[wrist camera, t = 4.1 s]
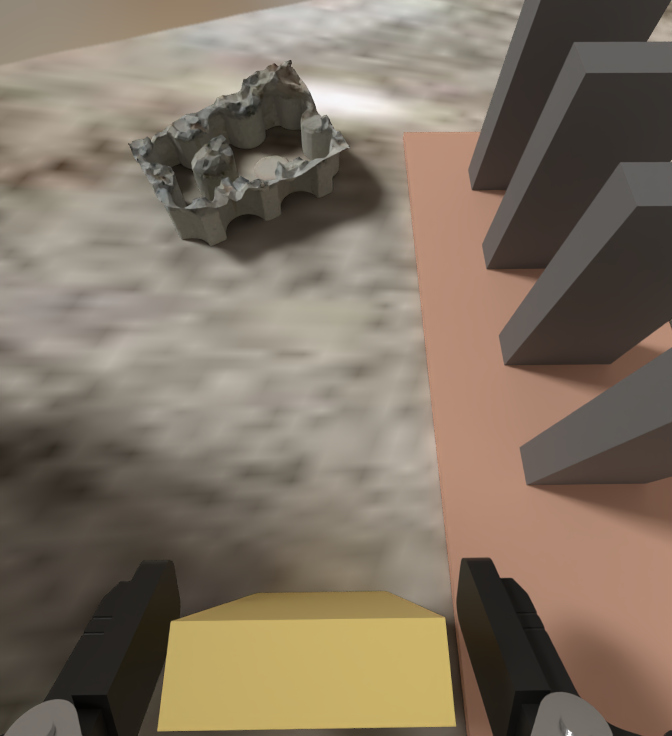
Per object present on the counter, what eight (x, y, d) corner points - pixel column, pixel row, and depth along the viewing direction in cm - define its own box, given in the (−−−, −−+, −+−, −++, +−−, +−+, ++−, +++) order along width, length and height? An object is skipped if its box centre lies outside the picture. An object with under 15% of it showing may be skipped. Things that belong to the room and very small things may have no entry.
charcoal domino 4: (645, 483, 19) (946, 401, 9) (526, 484, 18) (712, 403, 9) (634, 446, 19) (905, 335, 10) (519, 447, 19) (687, 337, 10)
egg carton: (301, 119, 29) (296, 52, 25) (357, 195, 26) (361, 133, 22) (141, 173, 27) (110, 109, 23) (184, 263, 24) (157, 206, 20)
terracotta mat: (814, 740, 15) (825, 745, 15) (468, 746, 15) (471, 750, 15) (594, 137, 28) (598, 131, 27) (403, 138, 28) (404, 132, 27)
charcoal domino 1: (558, 189, 25) (684, -23, 16) (471, 190, 25) (548, -23, 16) (553, 169, 26) (671, -47, 17) (468, 169, 26) (540, -46, 17)
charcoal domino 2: (582, 268, 23) (743, 72, 14) (486, 269, 23) (586, 72, 14) (574, 243, 24) (724, 41, 15) (481, 244, 24) (573, 41, 15)
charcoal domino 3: (610, 364, 21) (825, 204, 12) (504, 365, 21) (636, 206, 12) (601, 334, 21) (798, 161, 12) (498, 335, 21) (620, 162, 12)
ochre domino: (388, 638, 17) (455, 725, 7) (254, 640, 17) (157, 730, 7) (386, 591, 17) (445, 617, 8) (257, 592, 17) (170, 621, 8)
